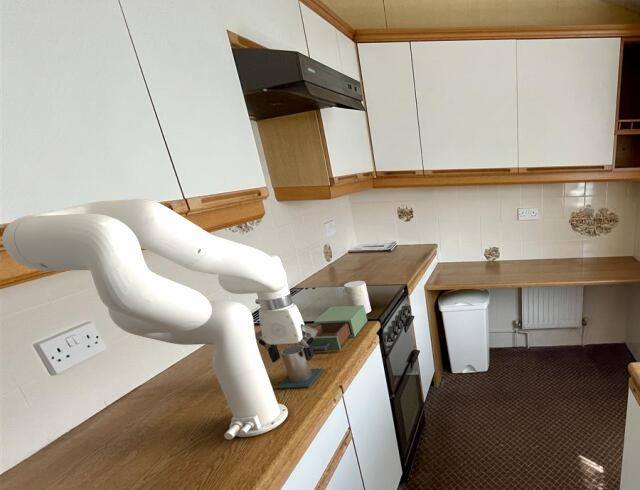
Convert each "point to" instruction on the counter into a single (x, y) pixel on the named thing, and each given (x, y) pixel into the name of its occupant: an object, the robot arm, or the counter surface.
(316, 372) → the mat
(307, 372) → the metallic grey cylinder
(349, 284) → the cup
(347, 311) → the cabinet
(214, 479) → the counter surface
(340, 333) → the drawer
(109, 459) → the counter surface
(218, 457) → the counter surface
